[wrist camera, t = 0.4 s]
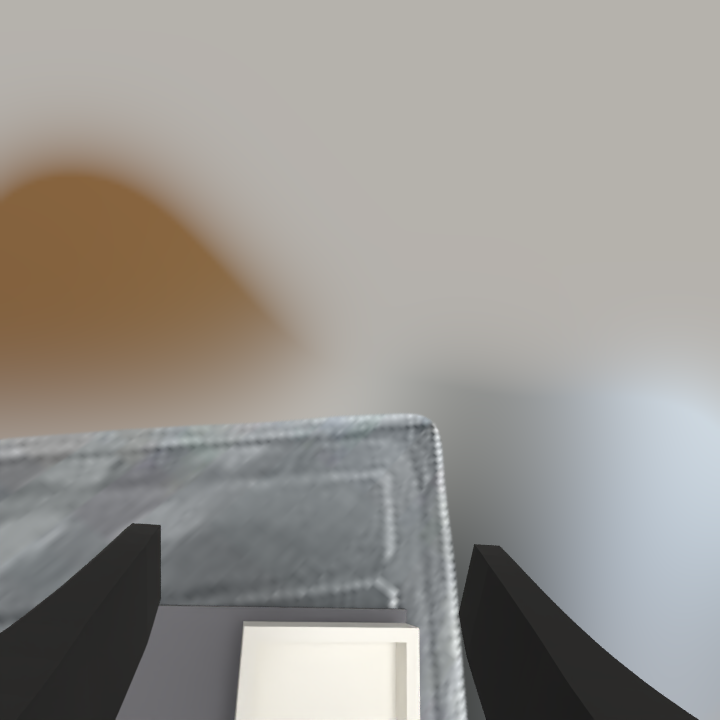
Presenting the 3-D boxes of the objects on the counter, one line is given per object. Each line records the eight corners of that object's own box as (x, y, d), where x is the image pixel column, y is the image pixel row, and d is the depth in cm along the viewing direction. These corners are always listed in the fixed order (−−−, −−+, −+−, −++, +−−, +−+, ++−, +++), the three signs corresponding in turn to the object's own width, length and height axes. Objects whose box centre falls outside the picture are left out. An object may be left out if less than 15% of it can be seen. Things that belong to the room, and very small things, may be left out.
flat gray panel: (404, 814, 35) (406, 817, 35) (11, 836, 31) (7, 840, 31) (404, 609, 40) (406, 609, 39) (57, 603, 35) (55, 604, 35)
